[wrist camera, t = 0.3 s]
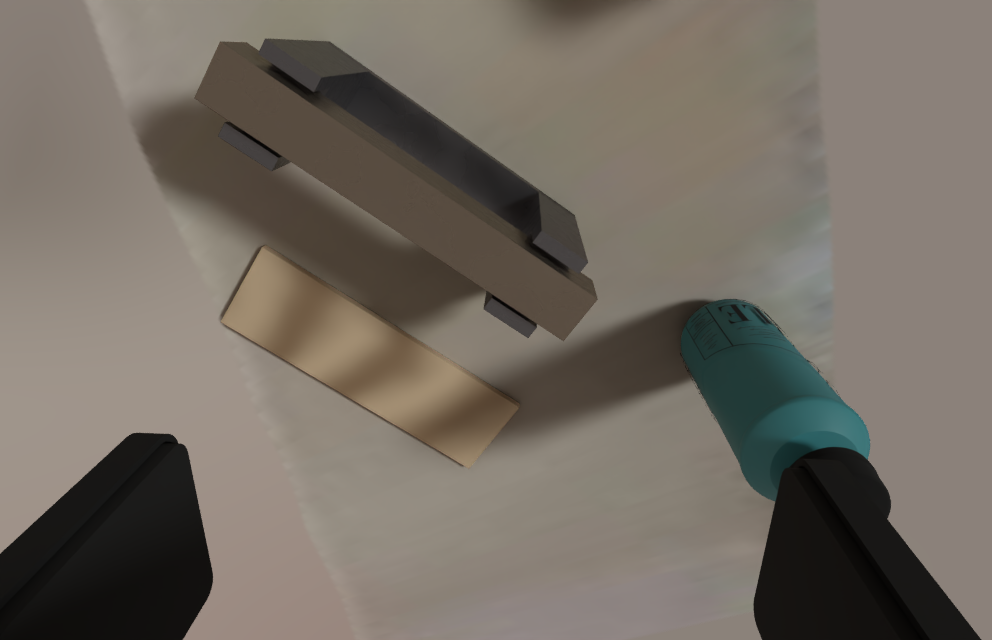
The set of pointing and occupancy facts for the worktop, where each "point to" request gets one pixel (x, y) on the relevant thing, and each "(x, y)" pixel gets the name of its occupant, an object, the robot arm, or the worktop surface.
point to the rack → (422, 152)
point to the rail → (393, 187)
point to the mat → (367, 358)
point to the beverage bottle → (772, 399)
